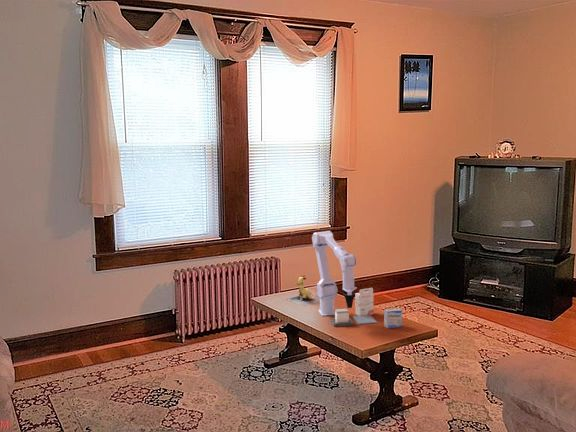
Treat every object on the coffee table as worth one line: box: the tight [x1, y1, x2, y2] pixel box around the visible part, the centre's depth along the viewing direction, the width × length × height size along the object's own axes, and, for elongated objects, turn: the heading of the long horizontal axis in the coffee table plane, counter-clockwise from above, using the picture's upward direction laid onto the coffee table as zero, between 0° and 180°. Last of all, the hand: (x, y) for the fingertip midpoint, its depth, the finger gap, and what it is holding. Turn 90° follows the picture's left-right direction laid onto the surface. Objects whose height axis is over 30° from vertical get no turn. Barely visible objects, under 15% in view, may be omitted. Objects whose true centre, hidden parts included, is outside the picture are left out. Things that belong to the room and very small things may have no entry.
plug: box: [334, 308, 350, 323], centre depth 286 cm, size 4×6×7 cm, turn 99°
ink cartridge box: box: [354, 287, 375, 316], centre depth 298 cm, size 9×5×15 cm, turn 112°
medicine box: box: [383, 307, 403, 329], centre depth 279 cm, size 8×4×9 cm, turn 101°
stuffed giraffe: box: [286, 274, 320, 307], centre depth 326 cm, size 16×18×16 cm
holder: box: [330, 316, 355, 328], centre depth 286 cm, size 8×10×2 cm
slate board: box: [352, 315, 378, 325], centre depth 290 cm, size 11×10×1 cm
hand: (349, 305), depth 283 cm, fingers open, 7 cm apart
